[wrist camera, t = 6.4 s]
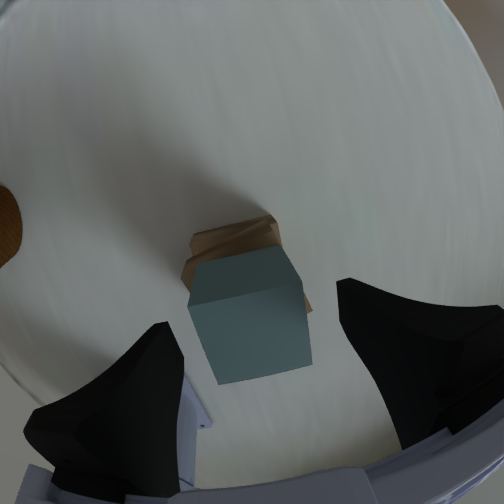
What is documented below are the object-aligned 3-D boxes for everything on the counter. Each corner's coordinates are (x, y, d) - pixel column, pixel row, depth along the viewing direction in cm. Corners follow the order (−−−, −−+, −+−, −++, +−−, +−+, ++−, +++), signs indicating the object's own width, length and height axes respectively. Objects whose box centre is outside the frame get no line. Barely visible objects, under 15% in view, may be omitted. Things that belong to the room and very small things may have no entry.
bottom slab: (215, 299, 19) (214, 318, 17) (194, 232, 18) (189, 244, 15) (284, 282, 19) (292, 300, 17) (270, 213, 18) (277, 222, 15)
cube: (218, 331, 14) (218, 384, 11) (197, 263, 13) (187, 306, 9) (292, 315, 15) (312, 364, 11) (280, 244, 13) (301, 281, 9)
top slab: (229, 325, 17) (230, 349, 15) (186, 260, 16) (180, 278, 13) (301, 290, 17) (312, 310, 15) (265, 218, 15) (273, 230, 13)
